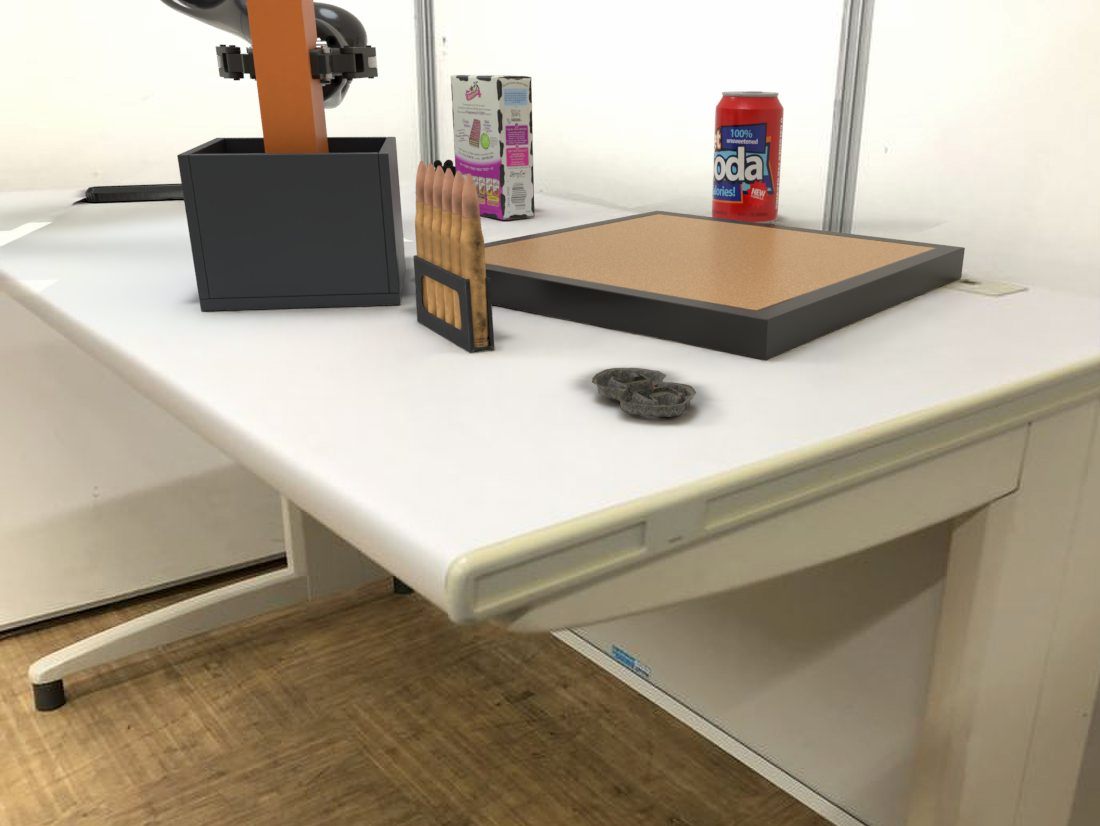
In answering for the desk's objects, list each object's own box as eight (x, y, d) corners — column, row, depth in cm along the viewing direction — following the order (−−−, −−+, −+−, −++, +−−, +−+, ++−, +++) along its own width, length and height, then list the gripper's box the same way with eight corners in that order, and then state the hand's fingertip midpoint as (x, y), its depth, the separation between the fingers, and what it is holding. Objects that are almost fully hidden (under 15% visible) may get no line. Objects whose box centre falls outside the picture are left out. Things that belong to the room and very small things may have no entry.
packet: (266, 165, 84) (244, -15, 79) (281, 154, 92) (262, -10, 87) (318, 165, 85) (299, -14, 80) (329, 153, 93) (312, -9, 88)
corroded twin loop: (644, 377, 68) (645, 362, 68) (714, 413, 62) (715, 396, 61) (575, 389, 66) (575, 373, 65) (640, 427, 59) (640, 409, 59)
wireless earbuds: (466, 195, 149) (465, 158, 147) (473, 197, 147) (471, 159, 145) (419, 198, 146) (416, 160, 144) (425, 200, 144) (422, 162, 142)
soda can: (788, 223, 128) (796, 91, 122) (757, 232, 122) (764, 93, 116) (731, 217, 132) (737, 89, 126) (699, 225, 126) (703, 91, 120)
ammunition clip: (416, 320, 82) (404, 160, 78) (439, 318, 83) (428, 159, 78) (470, 353, 74) (461, 175, 69) (495, 349, 75) (487, 174, 70)
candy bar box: (537, 217, 131) (533, 75, 124) (503, 221, 128) (497, 76, 121) (488, 207, 139) (482, 73, 132) (455, 210, 136) (447, 73, 129)
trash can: (200, 311, 84) (176, 155, 80) (235, 272, 99) (216, 137, 94) (400, 305, 87) (388, 153, 82) (405, 268, 101) (395, 136, 97)
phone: (89, 186, 145) (206, 182, 150) (91, 195, 145) (207, 190, 150) (84, 193, 138) (207, 189, 143) (86, 202, 139) (208, 197, 144)
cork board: (416, 289, 92) (765, 360, 73) (414, 256, 91) (768, 319, 72) (656, 236, 118) (961, 278, 99) (657, 210, 117) (964, 247, 98)
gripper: (389, 102, 101) (380, 114, 86) (233, 102, 99) (196, 115, 84) (382, 16, 99) (372, 13, 83) (222, 15, 96) (180, 11, 81)
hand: (283, 64), depth 83 cm, fingers closed on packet, 4 cm apart
